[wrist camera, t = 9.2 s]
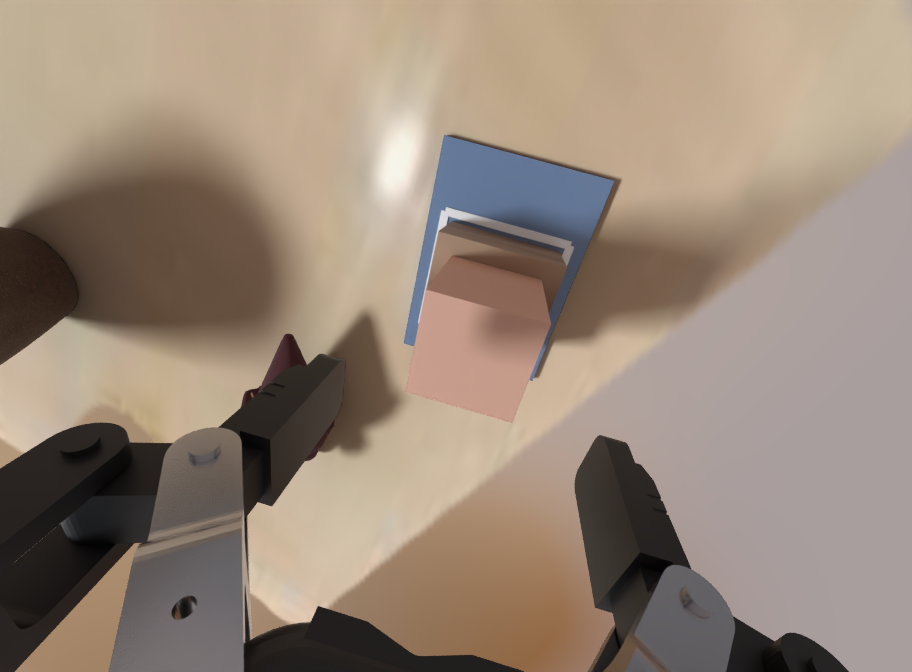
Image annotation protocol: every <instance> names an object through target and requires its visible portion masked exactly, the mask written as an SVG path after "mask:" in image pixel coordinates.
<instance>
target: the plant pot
mask: <svg viewBox="0 0 912 672" xmlns="http://www.w3.org/2000/svg"><path fill="white" fill-rule="evenodd" d="M77 300H78V293H77V287H76V284H75V281H74V279H73V277H72V275H71V273H70V271H69V270H68V268H67V266H66V265H65V263H64V262H63V261H62V260H61V259H60V257H59V256H58V255H57V254H56V253H55V252H54V251H53V250H52V249H51V248H50V247H48V246H47V245H46V244H45V243H44V242H42V241H41V240H39V239H38V238H36V237H34V236H32V235H30V234H28V233H26V232H23V231H20V230H16V229H9V228H3V227H0V365H1V364H2V363H4V362H5V361H7V360H8V359H10V358H11V357H13V356H14V355H16V354H17V353H18V352H20V351H21V350H23V349H24V348H25V347H27V346H28V345H29V344H31V343H32V342H33V341H35V340H36V339H37V338H39V337H40V336H41V335H43V334H44V333H45V332H47V331H48V330H49V329H50V328H52V327H53V326H54V325H55V324H57V323H58V322H59V321H60V320H62V319H63V318H64V317H65V316H66V315H68V314H69V313H70V312H71V311H72V310H73V309H74V308H75V306H76V303H77Z"/></svg>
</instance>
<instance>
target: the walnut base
mask: <svg viewBox="0 0 912 672" xmlns="http://www.w3.org/2000/svg"><path fill="white" fill-rule="evenodd" d="M451 256H455V257H459V258H463V259H466V260H470V261H474V262H477V263H481V264H485V265H488V266H492V267H496V268H499V269H503V270H507V271H510V272H514V273H518V274H521V275H525V276H529V277H532V278H536V279H540V280H542V283H543V288H544V293H545V298H546V303H547V307H548V312H550V310H551V307H552V305H553V302H554V300H555V297H556V295H557V292H558V290H559V287H560V285H561V282H562V280H563V277H564V275H565V272H566V269H567V266H566V264H565V262H564V260H563V258H562V256H561V254H560V252H559V251H556V250H553V249H549V248H546V247H542V246H538V245H535V244H531V243H528V242H524V241H520V240H517V239H513V238H510V237H506V236H503V235H499V234H495V233H492V232H488V231H485V230H481V229H477V228H474V227H470V226H467V225H463V224H459V223H456V222H452V221H451V222H450V223H449V224H447V225H446V226H445V227H443V228H442V229H441V230H440V231H438V236H437V241H436V245H435V250H434V255H433V260H432V264H431V269H430V274H429V279H428V283H427V287H428V286H429V285H430V283H431V282H432V281H433V279H434V278H435V277H436V276H437V274H438V273H439V272H440V270H441V269H442V268H443V266H444V265H445V264H446V263H447V261H448V260H449V259H450V257H451Z"/></svg>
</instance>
